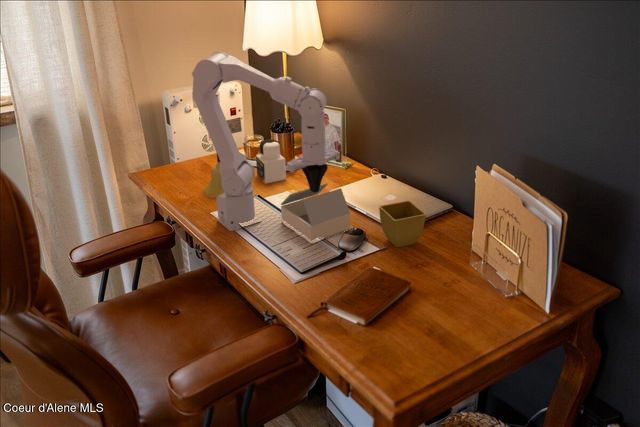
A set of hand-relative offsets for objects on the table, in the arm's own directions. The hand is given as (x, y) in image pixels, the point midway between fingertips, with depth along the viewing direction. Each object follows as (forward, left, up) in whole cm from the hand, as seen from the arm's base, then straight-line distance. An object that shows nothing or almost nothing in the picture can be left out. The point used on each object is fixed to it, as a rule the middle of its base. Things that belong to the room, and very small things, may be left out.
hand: (314, 190), depth 151 cm
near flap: (0, -5, -3) cm, 6 cm away
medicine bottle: (+7, +35, -11) cm, 37 cm away
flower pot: (+13, -19, -11) cm, 25 cm away
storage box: (0, 0, -10) cm, 10 cm away
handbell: (-9, +36, -11) cm, 38 cm away
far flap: (0, +5, -3) cm, 6 cm away
